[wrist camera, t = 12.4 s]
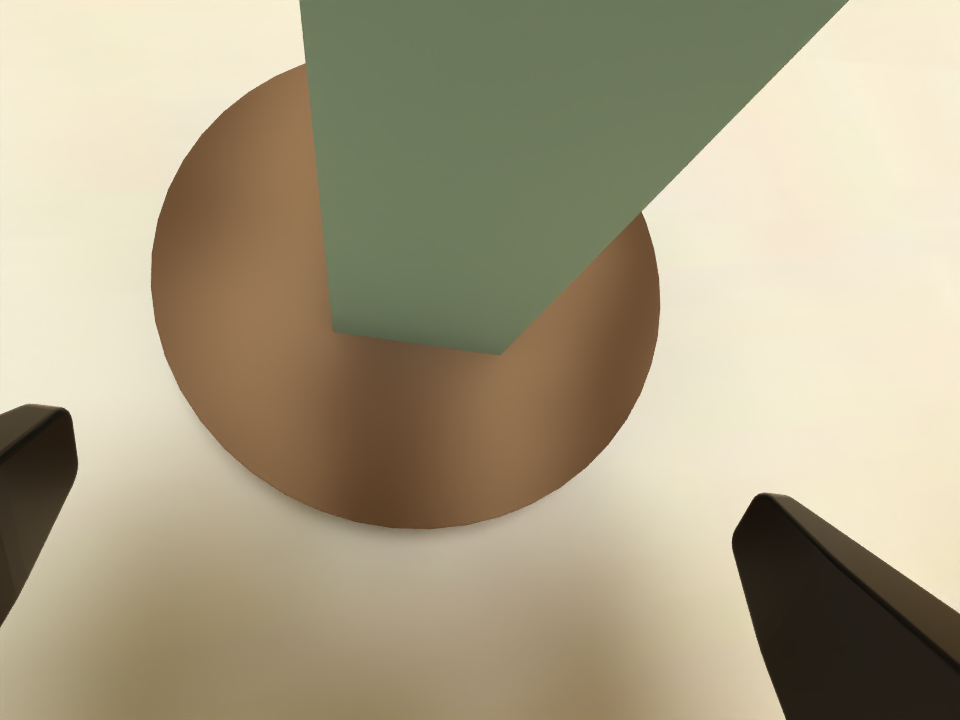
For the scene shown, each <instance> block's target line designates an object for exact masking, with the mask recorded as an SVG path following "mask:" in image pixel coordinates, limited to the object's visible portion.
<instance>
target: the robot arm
mask: <svg viewBox="0 0 960 720" xmlns="http://www.w3.org/2000/svg"><path fill="white" fill-rule="evenodd" d="M77 470H78V457H77V450H76V443H75V436H74V429H73V422H72V418H71V415H70V413H69V411H67V410H66V409H64V408H62V407H55V406H47V405H39V404H25V405H23V406H20V407H17V408H15V409H13V410H10V411H8V412H5V413H3V414H0V627H1V625H2V624H3V622H4V620H5V619H6V617H7V615H8V614H9V612H10V610H11V609H12V607H13V605H14V604H15V602H16V600H17V598H18V596H19V595H20V593H21V591H22V589H23V587H24V585H25V583H26V581H27V579H28V577H29V575H30V573H31V571H32V569H33V567H34V564H35V562H36V560H37V558H38V556H39V554H40V552H41V550H42V548H43V546H44V544H45V542H46V540H47V537H48V535H49V533H50V531H51V529H52V527H53V525H54V523H55V521H56V519H57V517H58V515H59V513H60V510H61V508H62V506H63V504H64V502H65V500H66V498H67V496H68V494H69V492H70V490H71V488H72V486H73V483H74V481H75V478H76V475H77ZM732 550H733V554H734V557H735V561H736V565H737V568H738V572H739V576H740V579H741V583H742V587H743V590H744V594H745V598H746V601H747V605H748V608H749V612H750V616H751V619H752V623H753V627H754V630H755V634H756V637H757V641H758V644H759V647H760V651H761V654H762V656H763V659H764V662H765V665H766V668H767V670H768V673H769V676H770V678H771V681H772V684H773V686H774V689H775V692H776V694H777V697H778V700H779V702H780V705H781V707H782V710H783V713H784V715H785V718H786V720H960V614H959V613H958V612H957V611H955V610H954V609H952V608H951V607H949V606H948V605H946V604H945V603H943V602H942V601H941V600H939V599H938V598H936V597H935V596H933V595H932V594H930V593H929V592H928V591H926V590H925V589H923V588H922V587H920V586H919V585H917V584H916V583H915V582H913V581H912V580H910V579H909V578H907V577H906V576H904V575H903V574H902V573H900V572H899V571H897V570H896V569H894V568H893V567H891V566H890V565H889V564H887V563H886V562H884V561H883V560H881V559H880V558H878V557H877V556H875V555H874V554H873V553H871V552H870V551H868V550H867V549H865V548H864V547H862V546H861V545H860V544H858V543H857V542H855V541H854V540H852V539H851V538H849V537H848V536H847V535H845V534H844V533H842V532H841V531H839V530H838V529H836V528H835V527H834V526H832V525H831V524H829V523H828V522H826V521H825V520H823V519H822V518H820V517H819V516H818V515H816V514H815V513H813V512H812V511H810V510H809V509H807V508H806V507H805V506H803V505H802V504H800V503H799V502H797V501H796V500H794V499H793V498H791V497H789V496H786V495H781V494H773V493H760V494H758V495H757V496H755V497H754V498H753V500H752V501H751V503H750V505H749V507H748V508H747V510H746V512H745V513H744V515H743V517H742V519H741V520H740V522H739V524H738V525H737V527H736V529H735V531H734V533H733V537H732Z"/></svg>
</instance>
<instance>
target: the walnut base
mask: <svg viewBox="0 0 960 720" xmlns="http://www.w3.org/2000/svg"><path fill="white" fill-rule="evenodd" d="M151 291H152V299H153V307H154V315H155V322H156V326H157V329H158V333H159V336H160V340H161V343H162V347H163V350H164V354H165V357H166V359H167V361H168V364H169V366H170V368H171V370H172V372H173V375H174V377H175V379H176V381H177V383H178V386H179V388H180V390H181V391H182V393H183V395H184V396H185V398H186V399H187V401H188V402H189V404H190V405H191V407H192V409H193V410H194V412H195V413H196V415H197V416H198V418H199V419H200V421H201V422H202V423H203V424H204V425H205V427H206V428H207V429H208V430H209V431H210V432H211V434H212V435H213V436H214V437H215V438H216V439H217V440H218V442H219V443H220V444H221V445H222V446H223V447H224V448H225V449H226V450H227V451H228V452H229V453H230V454H231V455H232V456H234V457H235V458H236V459H237V460H238V461H239V462H241V463H242V464H243V465H244V466H245V467H246V468H248V469H249V470H250V471H251V472H252V473H253V474H255V475H256V476H258V477H259V478H261V479H262V480H264V481H266V482H267V483H269V484H270V485H272V486H273V487H275V488H276V489H278V490H279V491H281V492H283V493H284V494H286V495H288V496H290V497H292V498H294V499H296V500H298V501H301V502H303V503H305V504H307V505H309V506H311V507H313V508H316V509H318V510H320V511H323V512H326V513H329V514H333V515H336V516H339V517H342V518H346V519H349V520H352V521H355V522H360V523H367V524H373V525H379V526H385V527H391V528H413V529H435V528H444V527H453V526H462V525H468V524H472V523H476V522H480V521H484V520H488V519H492V518H496V517H500V516H503V515H505V514H508V513H510V512H513V511H515V510H518V509H520V508H523V507H525V506H528V505H530V504H532V503H534V502H536V501H538V500H539V499H541V498H543V497H545V496H546V495H548V494H550V493H551V492H553V491H555V490H557V489H558V488H560V487H562V486H563V485H564V484H565V483H567V482H568V481H569V480H571V479H572V478H573V477H574V476H576V475H577V474H578V473H580V472H581V471H582V470H583V469H585V468H586V467H587V466H588V465H589V464H590V463H591V462H592V461H593V460H594V459H595V458H596V457H597V456H598V455H599V454H600V453H601V452H602V451H603V450H604V449H605V448H606V446H607V445H608V444H609V443H610V442H611V440H612V439H613V438H614V436H615V435H616V433H617V432H618V431H619V429H620V428H621V427H622V425H623V424H624V422H625V421H626V420H627V418H628V416H629V414H630V412H631V410H632V409H633V407H634V405H635V403H636V401H637V399H638V397H639V396H640V394H641V391H642V389H643V386H644V383H645V380H646V378H647V375H648V372H649V370H650V367H651V364H652V359H653V355H654V350H655V346H656V342H657V337H658V327H659V316H660V290H659V275H658V269H657V263H656V257H655V251H654V248H653V244H652V241H651V237H650V234H649V231H648V227H647V224H646V221H645V219H644V217H643V214H642V212H640V213H639V214H638V215H637V216H636V217H635V218H634V219H633V221H632V222H631V223H630V224H629V225H628V226H627V227H626V228H625V229H624V230H623V231H622V232H621V233H620V234H619V235H618V236H617V237H616V238H615V239H614V240H613V241H612V242H611V243H610V244H609V245H608V246H607V247H606V248H605V249H604V250H603V251H602V252H601V253H600V254H599V255H598V256H597V257H596V258H595V259H594V260H593V261H592V262H591V263H590V264H589V265H588V266H587V267H586V268H585V269H584V270H583V271H582V272H581V273H580V274H579V275H578V276H577V277H576V279H575V280H574V281H573V282H572V283H571V284H570V285H569V286H568V287H567V288H566V289H565V290H564V291H563V292H562V293H561V294H560V295H559V296H558V297H557V298H556V299H555V300H554V301H553V302H552V303H551V304H550V305H549V306H548V307H547V308H546V309H545V310H544V311H543V312H542V313H541V314H540V315H539V316H538V317H537V318H536V319H535V320H534V321H533V322H532V323H531V324H530V325H529V326H528V327H527V328H526V329H525V330H524V331H523V332H522V333H521V334H520V336H519V337H518V338H517V339H516V340H515V341H514V342H513V343H512V344H511V345H510V346H509V347H508V348H507V349H506V350H505V351H504V352H503V353H502V354H501V355H493V354H486V353H479V352H472V351H465V350H458V349H451V348H444V347H437V346H430V345H423V344H416V343H409V342H402V341H395V340H388V339H381V338H374V337H367V336H360V335H352V334H345V333H338V332H333V327H332V317H331V307H330V297H329V287H328V277H327V267H326V258H325V248H324V238H323V228H322V218H321V208H320V198H319V188H318V179H317V169H316V159H315V149H314V139H313V129H312V119H311V110H310V100H309V90H308V80H307V70H306V63H305V64H303V65H300V66H298V67H296V68H293V69H291V70H289V71H286V72H284V73H282V74H279V75H277V76H275V77H273V78H272V79H270V80H268V81H267V82H265V83H263V84H261V85H260V86H258V87H256V88H255V89H253V90H251V91H250V92H248V93H247V94H246V95H244V96H243V97H242V98H240V99H239V100H238V101H237V102H235V103H234V104H233V105H232V106H230V107H229V108H228V109H227V110H225V111H224V112H223V113H222V114H221V115H220V116H219V117H218V118H217V119H216V120H215V121H214V122H213V123H212V124H211V126H210V127H209V128H208V129H207V130H206V131H205V132H204V133H203V134H202V135H201V136H200V138H199V139H198V141H197V142H196V143H195V145H194V146H193V148H192V149H191V150H190V152H189V153H188V155H187V156H186V157H185V159H184V160H183V162H182V164H181V166H180V168H179V170H178V172H177V174H176V175H175V177H174V179H173V181H172V183H171V185H170V187H169V189H168V192H167V195H166V198H165V201H164V204H163V206H162V209H161V212H160V215H159V218H158V222H157V227H156V233H155V239H154V244H153V250H152V268H151Z"/></svg>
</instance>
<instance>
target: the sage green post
mask: <svg viewBox="0 0 960 720" xmlns="http://www.w3.org/2000/svg"><path fill="white" fill-rule="evenodd" d="M299 1H300V11H301V21H302V31H303V40H304V50H305V60H306V70H307V80H308V90H309V100H310V110H311V119H312V129H313V139H314V149H315V159H316V169H317V179H318V188H319V198H320V208H321V218H322V228H323V238H324V248H325V258H326V267H327V277H328V287H329V297H330V307H331V317H332V327H333V332H338V333H345V334H352V335H360V336H367V337H374V338H381V339H388V340H395V341H402V342H409V343H416V344H423V345H430V346H437V347H444V348H451V349H458V350H465V351H472V352H479V353H486V354H493V355H501V354H502V353H503V352H504V351H505V350H506V349H507V348H508V347H509V346H510V345H511V344H512V343H513V342H514V341H515V340H516V339H517V338H518V337H519V336H520V334H521V333H522V332H523V331H524V330H525V329H526V328H527V327H528V326H529V325H530V324H531V323H532V322H533V321H534V320H535V319H536V318H537V317H538V316H539V315H540V314H541V313H542V312H543V311H544V310H545V309H546V308H547V307H548V306H549V305H550V304H551V303H552V302H553V301H554V300H555V299H556V298H557V297H558V296H559V295H560V294H561V293H562V292H563V291H564V290H565V289H566V288H567V287H568V286H569V285H570V284H571V283H572V282H573V281H574V280H575V279H576V277H577V276H578V275H579V274H580V273H581V272H582V271H583V270H584V269H585V268H586V267H587V266H588V265H589V264H590V263H591V262H592V261H593V260H594V259H595V258H596V257H597V256H598V255H599V254H600V253H601V252H602V251H603V250H604V249H605V248H606V247H607V246H608V245H609V244H610V243H611V242H612V241H613V240H614V239H615V238H616V237H617V236H618V235H619V234H620V233H621V232H622V231H623V230H624V229H625V228H626V227H627V226H628V225H629V224H630V223H631V222H632V221H633V219H634V218H635V217H636V216H637V215H638V214H639V213H640V212H641V211H642V210H643V209H644V208H645V207H646V206H647V205H648V204H649V203H650V202H651V201H652V200H653V199H654V198H655V197H656V196H657V195H658V194H659V193H660V192H661V191H662V190H663V189H664V188H665V187H666V186H667V185H668V184H669V183H670V182H671V181H672V180H673V179H674V178H675V177H676V176H677V175H678V174H679V173H680V172H681V171H682V170H683V169H684V168H685V167H686V166H687V165H688V164H689V162H690V161H691V160H692V159H693V158H694V157H695V156H696V155H697V154H698V153H699V152H700V151H701V150H702V149H703V148H704V147H705V146H706V145H707V144H708V143H709V142H710V141H711V140H712V139H713V138H714V137H715V136H716V135H717V134H718V133H719V132H720V131H721V130H722V129H723V128H724V127H725V126H726V125H727V124H728V123H729V122H730V121H731V120H732V119H733V118H734V117H735V116H736V115H737V114H738V113H739V112H740V111H741V110H742V109H743V108H744V107H745V105H746V104H747V103H748V102H749V101H750V100H751V99H752V98H753V97H754V96H755V95H756V94H757V93H758V92H759V91H760V90H761V89H762V88H763V87H764V86H765V85H766V84H767V83H768V82H769V81H770V80H771V79H772V78H773V77H774V76H775V75H776V74H777V73H778V72H779V71H780V70H781V69H782V68H783V67H784V66H785V65H786V64H787V63H788V62H789V61H790V60H791V59H792V58H793V57H794V56H795V55H796V54H797V53H798V52H799V51H800V50H801V49H802V47H803V46H804V45H805V44H806V43H807V42H808V41H809V40H810V39H811V38H812V37H813V36H814V35H815V34H816V33H817V32H818V31H819V30H820V29H821V28H822V27H823V26H824V25H825V24H826V23H827V22H828V21H829V20H830V19H831V18H832V17H833V16H834V15H835V14H836V13H837V12H838V11H839V10H840V9H841V8H842V7H843V6H844V5H845V4H846V3H847V2H848V1H849V0H299Z"/></svg>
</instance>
